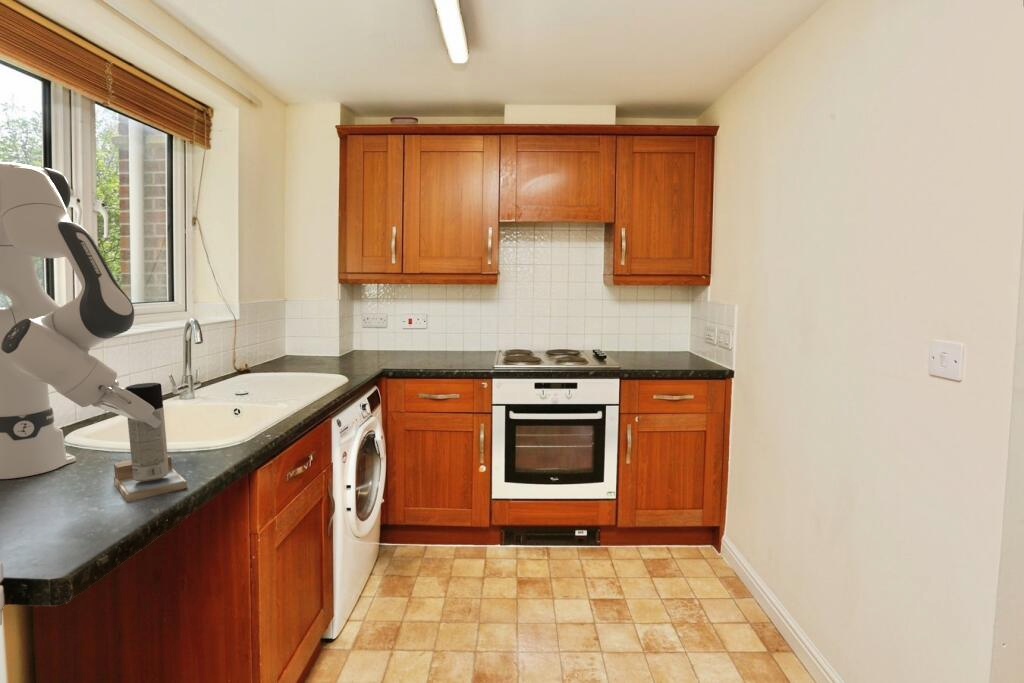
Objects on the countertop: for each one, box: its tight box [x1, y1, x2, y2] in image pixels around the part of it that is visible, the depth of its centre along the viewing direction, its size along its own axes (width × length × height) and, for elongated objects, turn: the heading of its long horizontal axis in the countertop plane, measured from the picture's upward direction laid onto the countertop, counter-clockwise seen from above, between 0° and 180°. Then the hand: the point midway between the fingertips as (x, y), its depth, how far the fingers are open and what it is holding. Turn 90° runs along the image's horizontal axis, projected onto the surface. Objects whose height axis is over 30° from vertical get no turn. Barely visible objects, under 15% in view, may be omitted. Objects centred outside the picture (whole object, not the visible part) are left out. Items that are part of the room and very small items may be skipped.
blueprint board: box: [113, 453, 188, 502], centre depth 129 cm, size 15×11×4 cm
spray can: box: [124, 382, 169, 481], centre depth 126 cm, size 7×7×20 cm
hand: (149, 422), depth 126 cm, fingers closed on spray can, 6 cm apart
